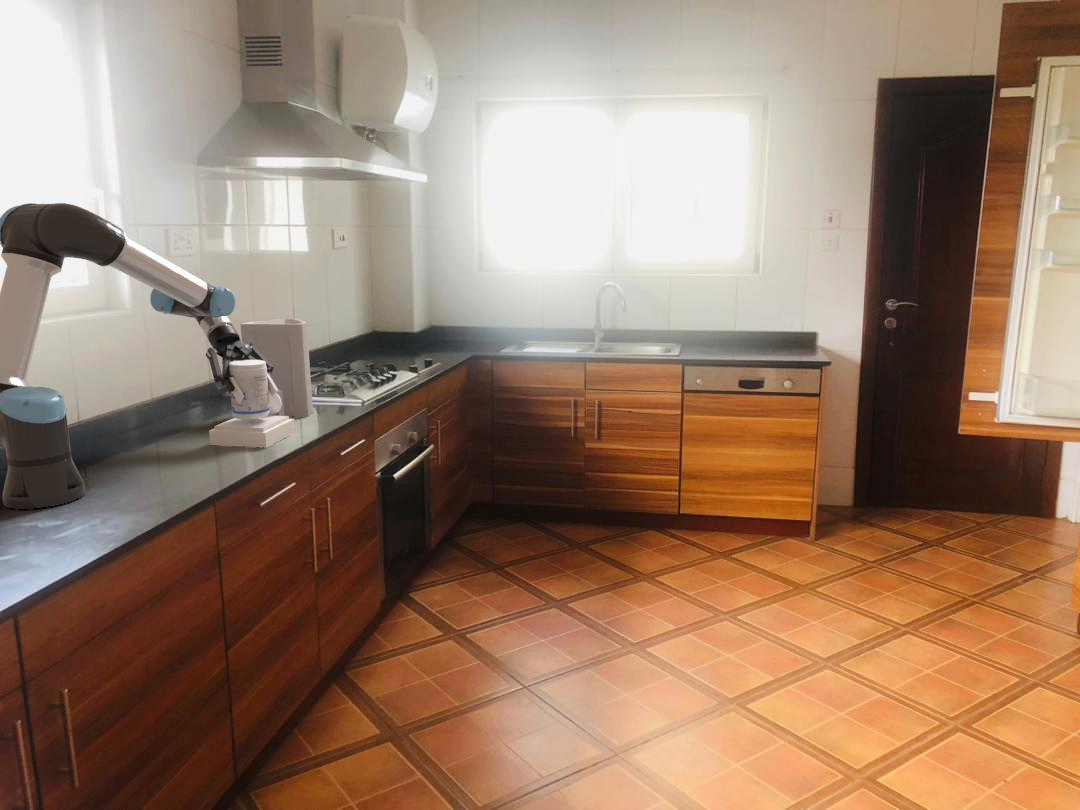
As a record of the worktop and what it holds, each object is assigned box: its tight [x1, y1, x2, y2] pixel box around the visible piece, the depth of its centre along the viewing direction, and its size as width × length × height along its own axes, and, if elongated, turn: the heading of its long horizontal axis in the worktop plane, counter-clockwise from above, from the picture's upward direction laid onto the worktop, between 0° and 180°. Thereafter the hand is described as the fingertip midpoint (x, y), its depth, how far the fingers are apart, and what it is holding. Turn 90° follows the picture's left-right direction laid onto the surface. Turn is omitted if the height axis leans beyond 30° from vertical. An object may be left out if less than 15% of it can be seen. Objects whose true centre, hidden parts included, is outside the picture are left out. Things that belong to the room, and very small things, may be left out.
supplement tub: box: [229, 360, 269, 419], centre depth 222 cm, size 10×10×15 cm
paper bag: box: [239, 318, 314, 418], centre depth 256 cm, size 19×15×28 cm
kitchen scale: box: [208, 390, 296, 449], centre depth 226 cm, size 21×16×12 cm
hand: (258, 396), depth 220 cm, fingers closed on supplement tub, 9 cm apart
